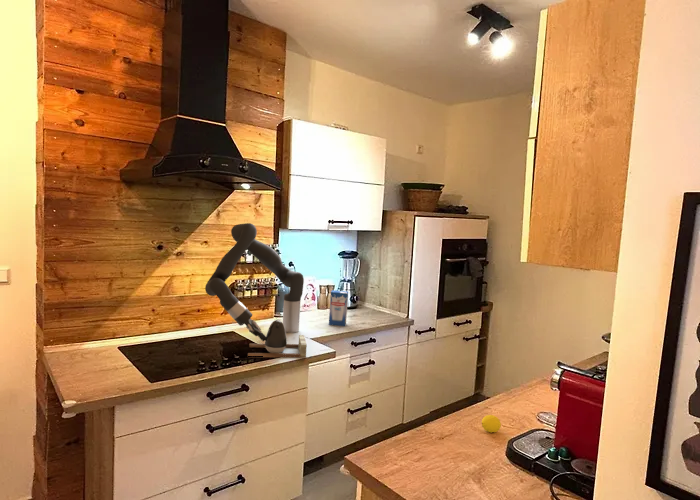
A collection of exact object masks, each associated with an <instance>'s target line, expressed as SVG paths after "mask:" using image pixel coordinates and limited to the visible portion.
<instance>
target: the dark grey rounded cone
mask: <svg viewBox="0 0 700 500" xmlns="http://www.w3.org/2000/svg"><path fill="white" fill-rule="evenodd" d="M265 336H266V340H265V341H264V344H265V346H266V347H265V349H266V350H267V352H268V353H284V350H285V349H286V348H285V347H286V345H287V344H288V340H287V332H286V331H285V327H284V325H283V321H281V320H279V319H275V320H274V321H272V322H271V324H270V325H269V327H268V329H267V332H266V334H265Z"/></svg>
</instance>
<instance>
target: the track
mask: <svg viewBox="0 0 700 500" xmlns="http://www.w3.org/2000/svg"><path fill="white" fill-rule="evenodd" d="M248 348H266V346H265V343H249V347H248ZM289 348H290V349H291V348H292V349H298V352H299V353H297V352H296V353H294V352H293V353H291V352H290V353H288V352H287V353H286V352H285V353H284V352H281V353H270V352H248V353H247V357H248V356H263V357H262V358H302V359H303V358H307V341H306V337H305V335H304V334H302V335H301V334H300V335H298V343H287V345H286V347H285V349H289Z"/></svg>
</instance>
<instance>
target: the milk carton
mask: <svg viewBox="0 0 700 500" xmlns="http://www.w3.org/2000/svg"><path fill="white" fill-rule="evenodd" d="M348 300H349V291H345V290H333V289H332V290H331V291H330V299H329V313H328V314H329V316H328V325H329V326H339V327H340V326H341V327H345V326H346V325H347V316H348Z"/></svg>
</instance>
